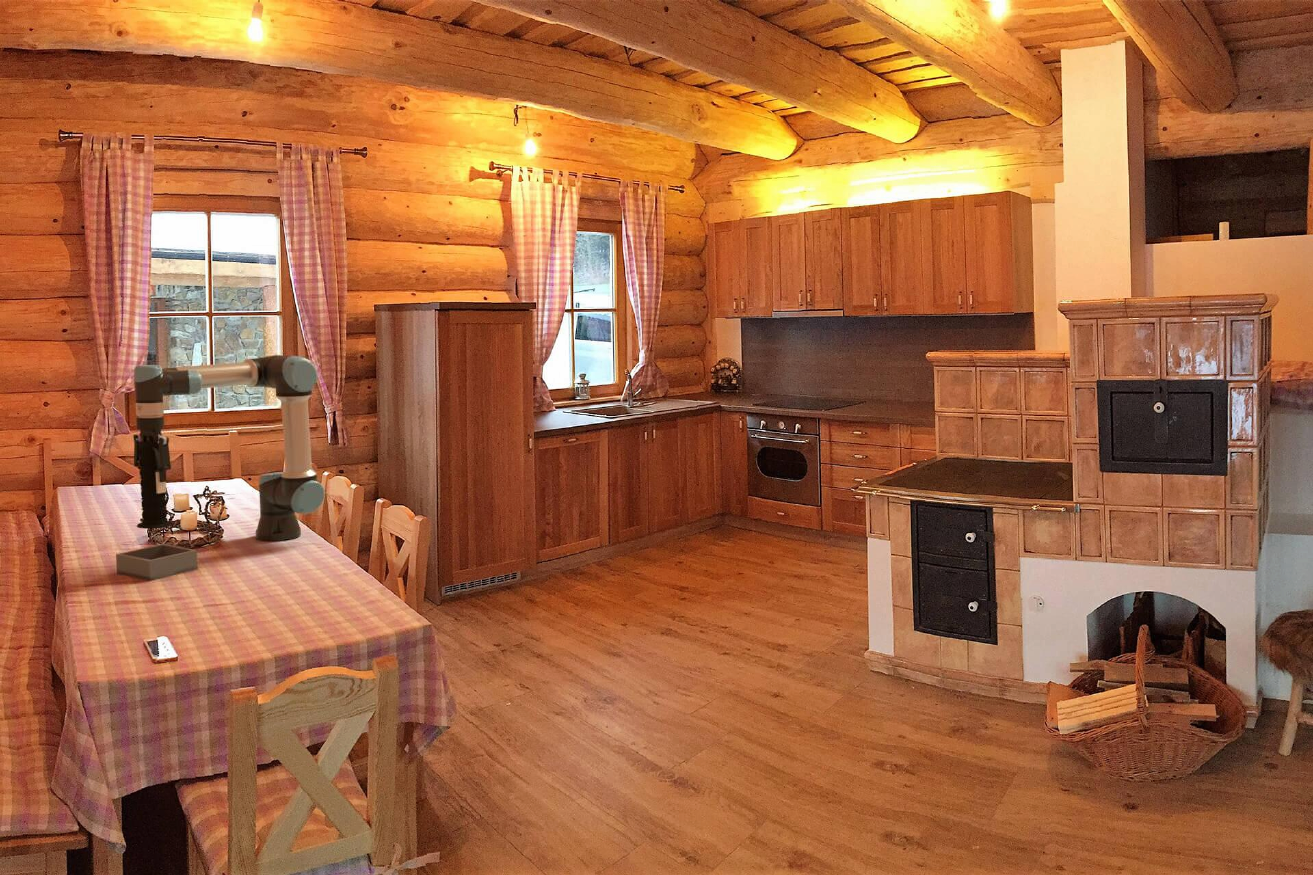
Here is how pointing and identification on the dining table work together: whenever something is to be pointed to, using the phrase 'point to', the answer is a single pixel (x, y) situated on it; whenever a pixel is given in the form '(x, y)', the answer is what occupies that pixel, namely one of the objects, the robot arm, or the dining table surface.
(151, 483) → the handle grip
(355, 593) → the dining table surface
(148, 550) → the box
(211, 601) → the dining table surface
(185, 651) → the dining table surface
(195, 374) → the robot arm
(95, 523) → the dining table surface
